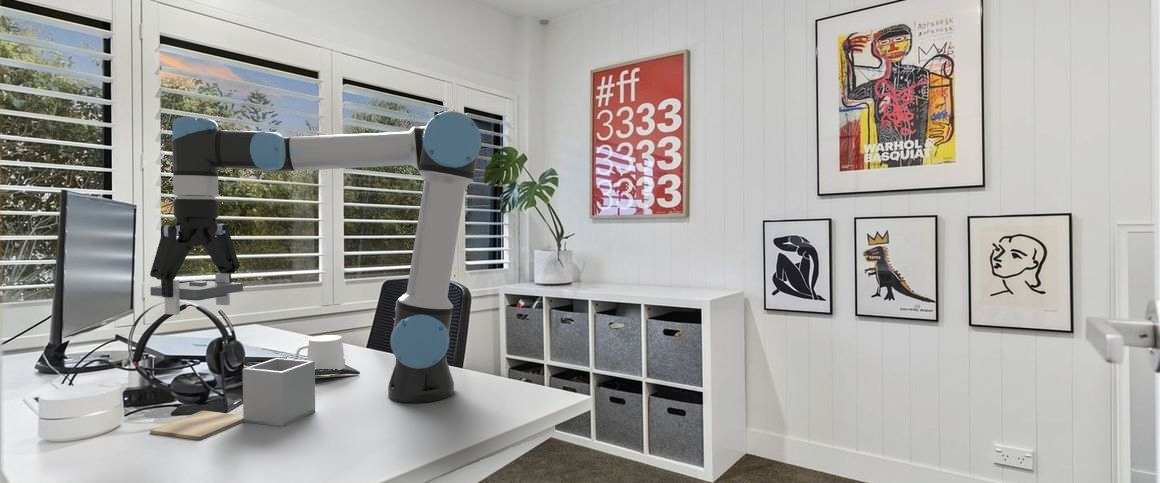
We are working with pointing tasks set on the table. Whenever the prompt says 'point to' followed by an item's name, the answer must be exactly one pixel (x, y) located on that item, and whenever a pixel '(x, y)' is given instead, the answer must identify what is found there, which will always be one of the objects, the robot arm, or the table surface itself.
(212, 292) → the lid
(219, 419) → the wooden square board
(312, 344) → the mug
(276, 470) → the table surface
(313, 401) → the storage cube
